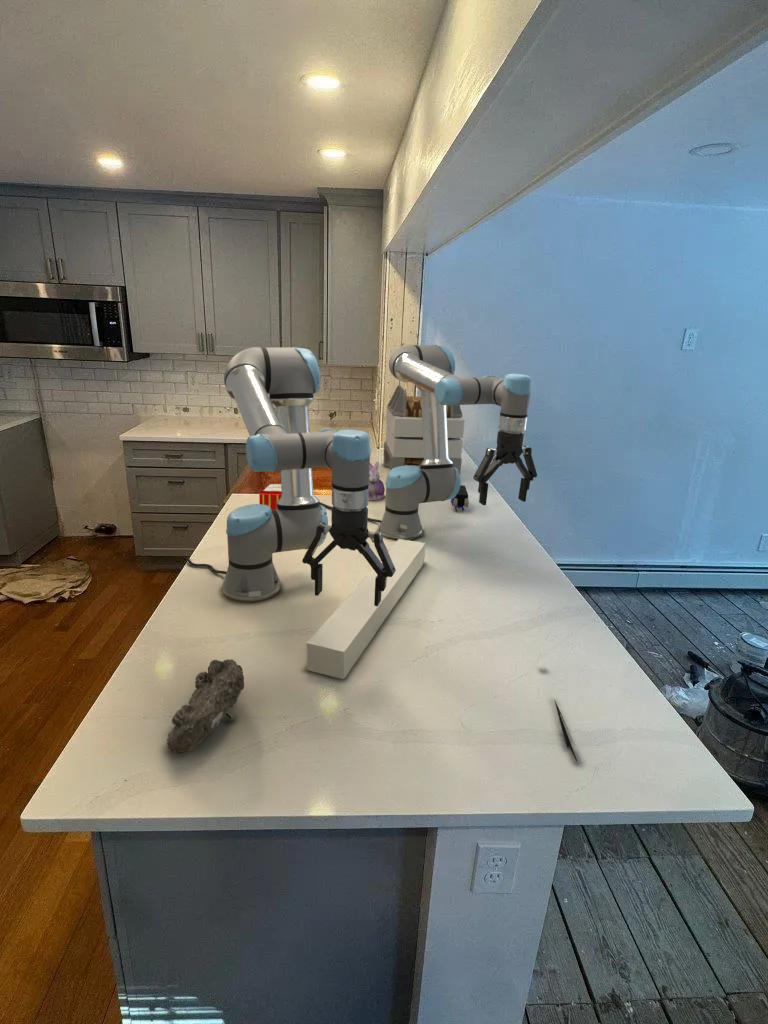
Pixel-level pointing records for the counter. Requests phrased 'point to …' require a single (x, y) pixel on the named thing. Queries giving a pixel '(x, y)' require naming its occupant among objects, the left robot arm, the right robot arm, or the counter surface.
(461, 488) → the figurine character
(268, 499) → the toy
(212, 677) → the fossil
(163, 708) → the counter surface
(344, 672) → the wide beam
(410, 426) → the transformer
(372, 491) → the figurine
